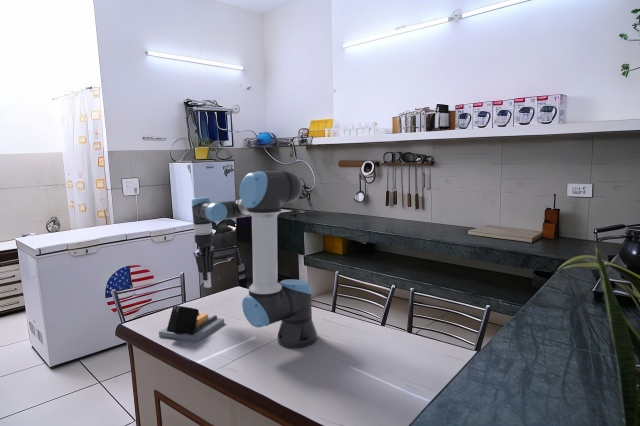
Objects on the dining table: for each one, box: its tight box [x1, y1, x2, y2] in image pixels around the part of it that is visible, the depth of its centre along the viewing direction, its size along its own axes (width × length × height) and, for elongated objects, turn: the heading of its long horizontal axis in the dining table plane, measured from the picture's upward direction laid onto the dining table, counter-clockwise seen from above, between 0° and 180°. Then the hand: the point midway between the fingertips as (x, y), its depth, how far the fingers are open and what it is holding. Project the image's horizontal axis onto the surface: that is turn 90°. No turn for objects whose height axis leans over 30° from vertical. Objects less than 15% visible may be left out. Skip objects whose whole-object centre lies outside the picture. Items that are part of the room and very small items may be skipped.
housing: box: [158, 314, 225, 343], centre depth 170 cm, size 18×19×3 cm
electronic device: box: [166, 304, 200, 335], centre depth 163 cm, size 4×10×10 cm, turn 148°
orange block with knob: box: [195, 312, 209, 327], centre depth 171 cm, size 8×6×4 cm
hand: (207, 286), depth 178 cm, fingers closed
